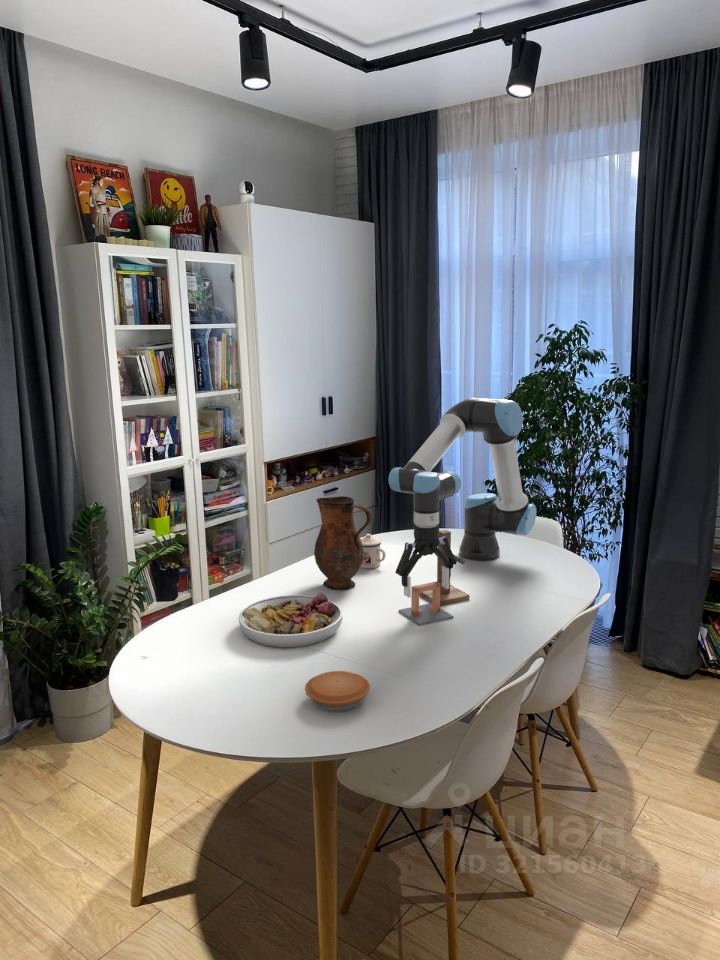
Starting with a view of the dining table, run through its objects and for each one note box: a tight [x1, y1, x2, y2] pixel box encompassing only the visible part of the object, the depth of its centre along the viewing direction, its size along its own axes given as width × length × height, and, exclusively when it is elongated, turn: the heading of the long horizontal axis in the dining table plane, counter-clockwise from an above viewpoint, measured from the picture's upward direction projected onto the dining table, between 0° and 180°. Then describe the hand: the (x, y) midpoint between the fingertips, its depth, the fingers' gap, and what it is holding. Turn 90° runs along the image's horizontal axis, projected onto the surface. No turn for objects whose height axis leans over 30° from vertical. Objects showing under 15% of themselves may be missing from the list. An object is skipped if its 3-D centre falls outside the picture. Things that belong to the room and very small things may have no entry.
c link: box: [410, 581, 441, 617], centre depth 230 cm, size 9×2×9 cm, turn 117°
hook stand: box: [419, 529, 470, 607], centre depth 241 cm, size 16×12×22 cm
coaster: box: [398, 602, 454, 626], centre depth 231 cm, size 12×12×1 cm
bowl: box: [238, 592, 343, 648], centre depth 221 cm, size 30×30×8 cm
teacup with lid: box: [359, 533, 387, 569], centre depth 275 cm, size 12×9×12 cm
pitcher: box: [313, 495, 372, 591], centre depth 253 cm, size 17×21×30 cm
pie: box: [304, 670, 371, 713], centre depth 181 cm, size 15×16×5 cm
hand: (426, 591), depth 230 cm, fingers open, 13 cm apart
